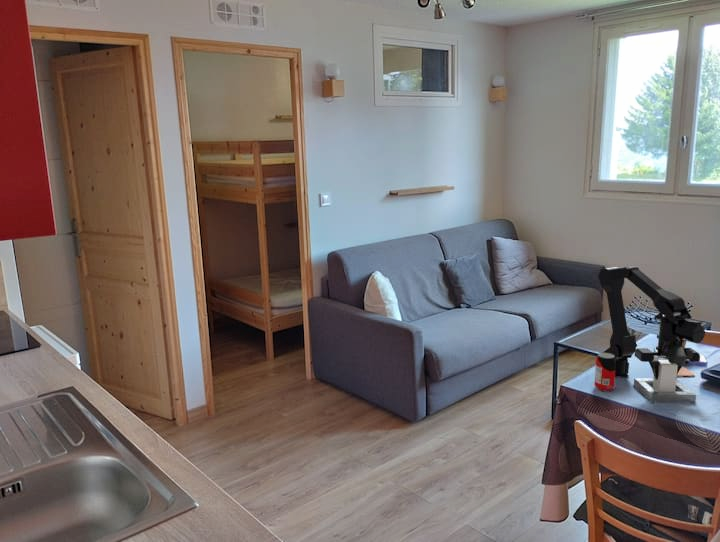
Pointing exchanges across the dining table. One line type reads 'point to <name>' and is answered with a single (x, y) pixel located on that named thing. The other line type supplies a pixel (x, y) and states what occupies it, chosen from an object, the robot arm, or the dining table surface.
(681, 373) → the terracotta tile
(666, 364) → the end plug
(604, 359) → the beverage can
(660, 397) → the bore housing
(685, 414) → the dining table surface
